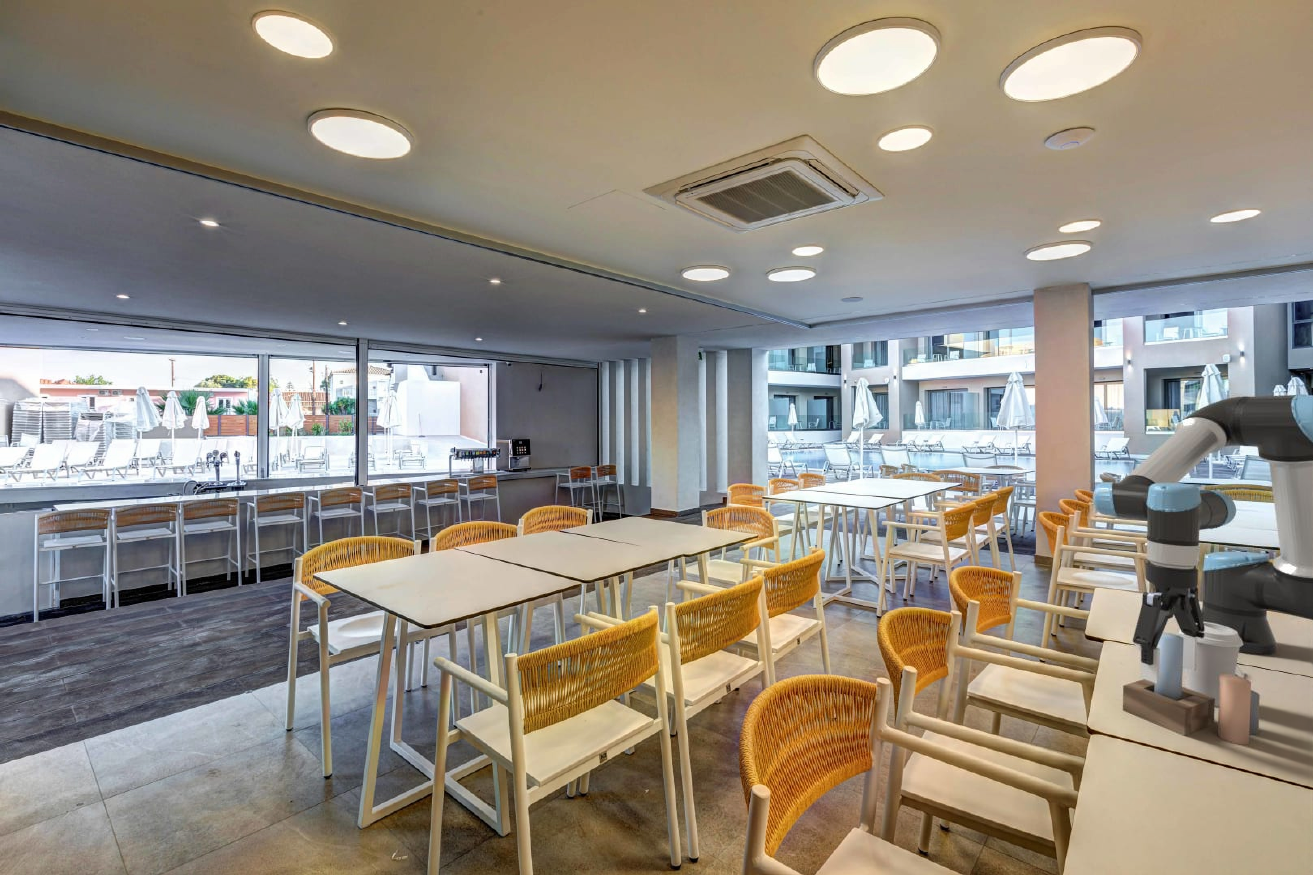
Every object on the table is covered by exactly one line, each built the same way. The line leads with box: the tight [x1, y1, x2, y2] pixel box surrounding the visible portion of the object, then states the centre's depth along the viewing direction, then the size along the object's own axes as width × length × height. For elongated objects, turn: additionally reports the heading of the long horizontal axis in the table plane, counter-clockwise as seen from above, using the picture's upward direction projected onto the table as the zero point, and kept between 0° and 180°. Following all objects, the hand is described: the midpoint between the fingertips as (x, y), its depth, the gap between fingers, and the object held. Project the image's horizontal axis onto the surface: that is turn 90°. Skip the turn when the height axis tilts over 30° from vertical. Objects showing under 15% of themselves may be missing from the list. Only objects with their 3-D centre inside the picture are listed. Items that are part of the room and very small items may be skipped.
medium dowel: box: [1217, 674, 1252, 746], centre depth 105 cm, size 4×4×11 cm
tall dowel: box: [1154, 631, 1184, 701], centre depth 112 cm, size 4×4×16 cm
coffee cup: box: [1178, 622, 1243, 708], centre depth 119 cm, size 10×10×15 cm
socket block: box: [1122, 678, 1216, 737], centre depth 112 cm, size 10×10×5 cm
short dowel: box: [1249, 689, 1261, 735], centre depth 108 cm, size 4×4×7 cm
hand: (1168, 674), depth 112 cm, fingers open, 12 cm apart
